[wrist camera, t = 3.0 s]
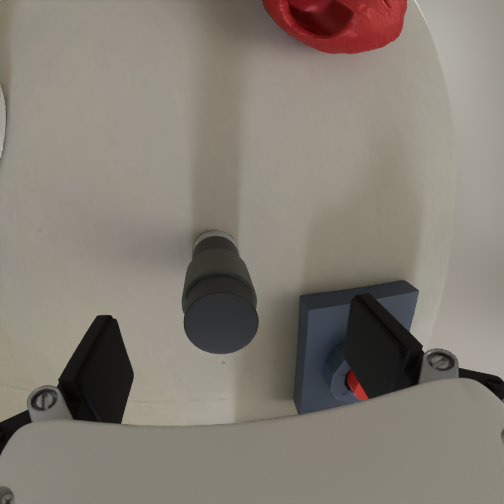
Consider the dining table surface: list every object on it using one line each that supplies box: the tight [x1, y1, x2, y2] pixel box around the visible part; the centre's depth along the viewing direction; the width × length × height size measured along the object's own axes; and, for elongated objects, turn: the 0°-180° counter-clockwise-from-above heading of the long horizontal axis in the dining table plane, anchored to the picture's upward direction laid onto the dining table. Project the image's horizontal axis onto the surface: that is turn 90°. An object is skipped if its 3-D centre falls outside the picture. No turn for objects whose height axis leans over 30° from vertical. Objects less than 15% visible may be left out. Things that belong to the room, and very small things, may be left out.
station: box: [294, 280, 419, 415], centre depth 22 cm, size 12×10×4 cm
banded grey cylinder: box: [182, 231, 259, 354], centre depth 15 cm, size 3×3×9 cm
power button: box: [347, 369, 368, 400], centre depth 20 cm, size 4×4×2 cm
